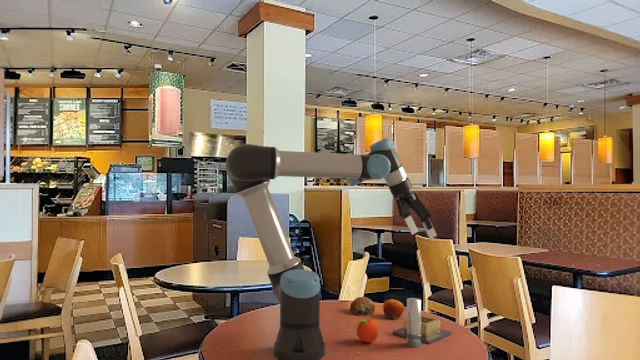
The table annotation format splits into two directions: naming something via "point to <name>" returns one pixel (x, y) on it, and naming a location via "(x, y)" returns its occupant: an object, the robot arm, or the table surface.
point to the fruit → (393, 308)
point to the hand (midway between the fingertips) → (423, 235)
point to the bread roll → (362, 306)
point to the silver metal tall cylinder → (414, 322)
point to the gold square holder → (426, 330)
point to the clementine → (367, 330)
